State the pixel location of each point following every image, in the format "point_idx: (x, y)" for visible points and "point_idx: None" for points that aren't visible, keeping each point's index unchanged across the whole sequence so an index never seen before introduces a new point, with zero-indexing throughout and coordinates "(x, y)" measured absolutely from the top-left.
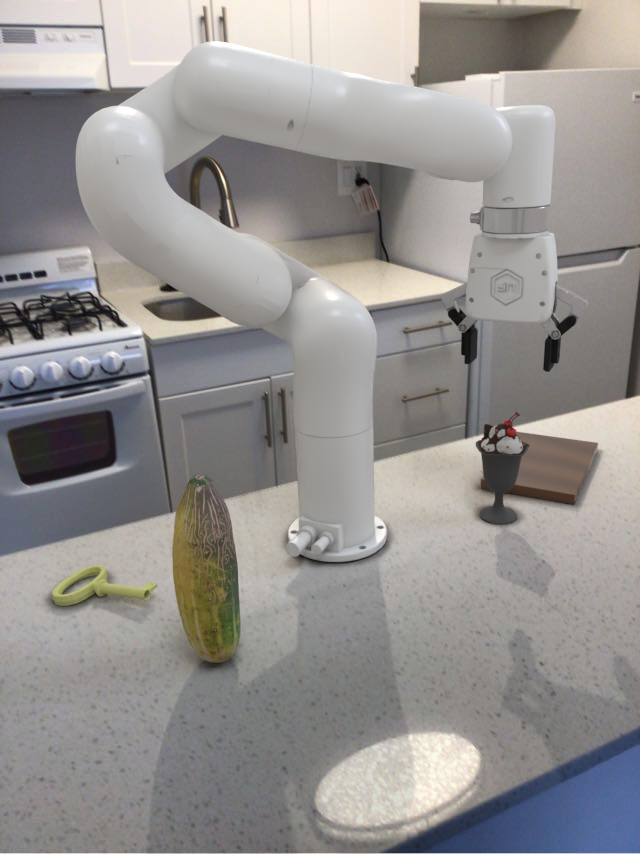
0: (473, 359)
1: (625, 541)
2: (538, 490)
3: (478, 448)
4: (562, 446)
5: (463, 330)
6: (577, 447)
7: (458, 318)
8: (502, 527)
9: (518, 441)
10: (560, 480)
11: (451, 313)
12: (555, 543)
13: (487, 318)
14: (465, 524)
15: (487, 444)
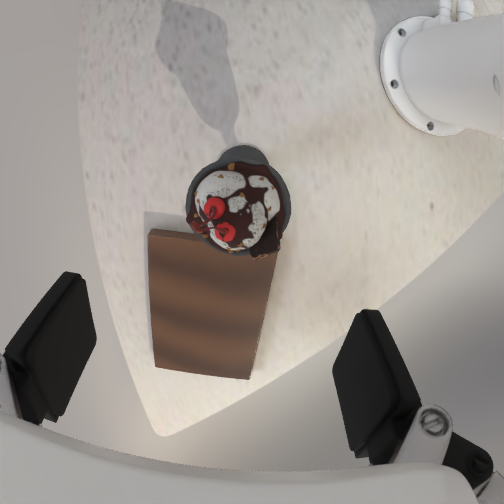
0: (345, 344)
1: (87, 153)
2: (195, 239)
3: (282, 183)
4: (189, 355)
5: (424, 415)
6: (172, 355)
7: (454, 457)
8: (232, 138)
9: (200, 196)
10: (172, 270)
11: (484, 464)
12: (159, 117)
13: (345, 484)
14: (284, 134)
15: (265, 188)
